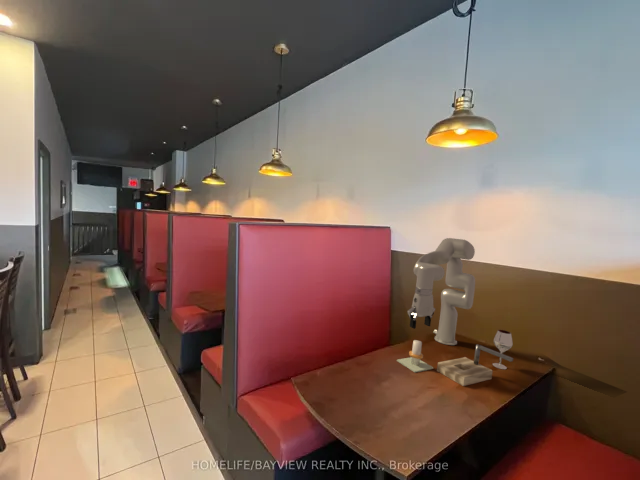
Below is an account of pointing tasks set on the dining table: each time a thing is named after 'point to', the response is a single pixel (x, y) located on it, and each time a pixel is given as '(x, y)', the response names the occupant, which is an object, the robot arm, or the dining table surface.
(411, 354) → the plug
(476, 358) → the grey bar
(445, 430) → the dining table surface
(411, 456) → the dining table surface
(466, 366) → the socket block
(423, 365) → the mat
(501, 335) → the wineglass
